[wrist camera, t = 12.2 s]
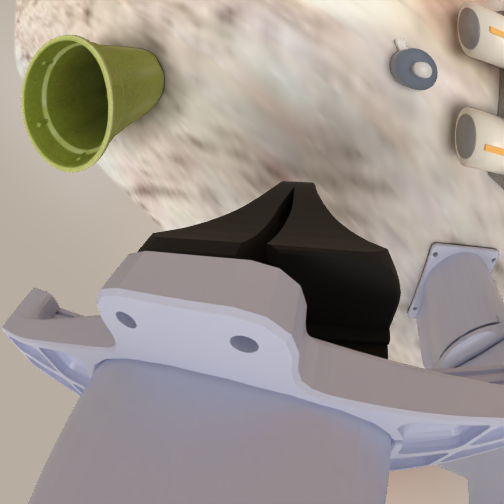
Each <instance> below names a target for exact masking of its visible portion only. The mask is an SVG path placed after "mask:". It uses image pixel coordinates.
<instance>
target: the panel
mask: <svg viewBox="0 0 504 504" xmlns="http://www.w3.org/2000/svg"><path fill="white" fill-rule="evenodd" d="M497 13H498V14H501V15H503V16H504V11H499V12H497ZM498 116H499V117H502V118H504V69H502V68H500V91H499V106H498ZM488 175H489V176H491V177H492V178H493V179H494V180H495V181H496V182H497V183H498V184H499V185H500V186H501V187H502V188H503V189H504V175H501V174H497V173H493V172H489V173H488Z"/></svg>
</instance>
